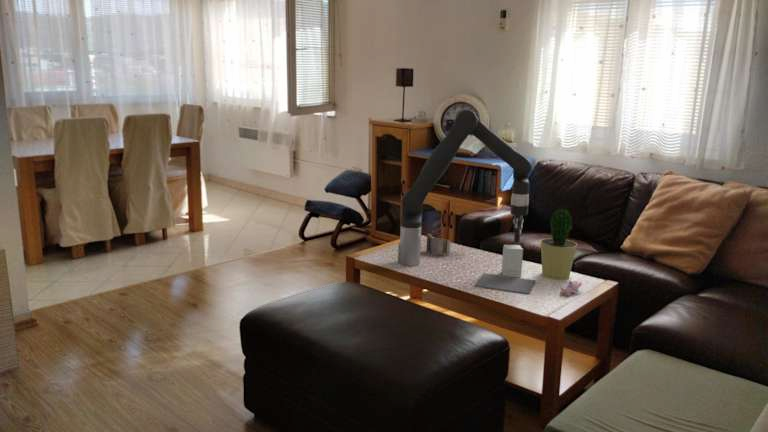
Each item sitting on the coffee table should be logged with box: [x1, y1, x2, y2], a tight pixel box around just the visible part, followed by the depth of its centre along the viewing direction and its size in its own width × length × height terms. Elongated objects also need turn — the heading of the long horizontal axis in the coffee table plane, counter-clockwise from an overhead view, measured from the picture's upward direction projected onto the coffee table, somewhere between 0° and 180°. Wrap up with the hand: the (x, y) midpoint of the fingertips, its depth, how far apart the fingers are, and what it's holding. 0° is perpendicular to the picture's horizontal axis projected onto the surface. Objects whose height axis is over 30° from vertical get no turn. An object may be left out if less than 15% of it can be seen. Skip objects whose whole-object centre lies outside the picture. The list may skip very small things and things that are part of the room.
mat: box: [473, 272, 536, 295], centre depth 260 cm, size 22×18×1 cm
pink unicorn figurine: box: [559, 280, 583, 298], centre depth 252 cm, size 6×6×15 cm
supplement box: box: [501, 244, 524, 278], centre depth 272 cm, size 7×7×13 cm
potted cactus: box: [539, 208, 578, 281], centre depth 271 cm, size 15×15×30 cm
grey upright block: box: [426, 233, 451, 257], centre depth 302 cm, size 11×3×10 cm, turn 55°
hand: (516, 241), depth 279 cm, fingers closed
